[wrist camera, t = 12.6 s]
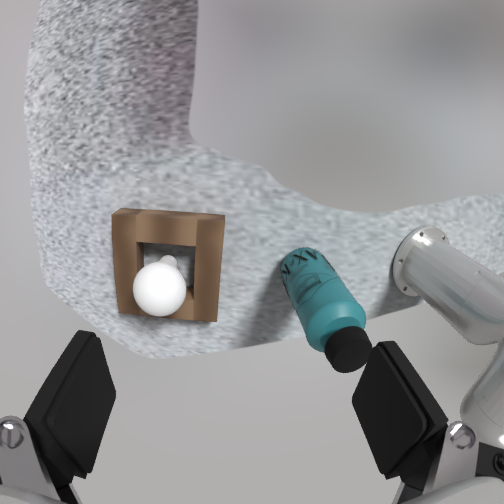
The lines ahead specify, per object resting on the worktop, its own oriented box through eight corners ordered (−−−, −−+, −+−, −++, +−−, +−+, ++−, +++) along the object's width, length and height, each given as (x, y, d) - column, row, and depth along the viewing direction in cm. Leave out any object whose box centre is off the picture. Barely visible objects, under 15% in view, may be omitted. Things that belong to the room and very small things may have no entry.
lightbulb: (186, 285, 40) (179, 332, 30) (145, 276, 39) (125, 320, 28) (195, 245, 38) (188, 284, 28) (151, 235, 37) (129, 270, 26)
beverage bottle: (329, 252, 40) (402, 336, 22) (306, 290, 42) (358, 389, 24) (291, 234, 39) (349, 317, 20) (268, 275, 40) (303, 378, 22)
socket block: (224, 215, 37) (224, 222, 34) (217, 308, 42) (216, 321, 38) (120, 208, 35) (111, 214, 32) (125, 300, 40) (118, 312, 37)
